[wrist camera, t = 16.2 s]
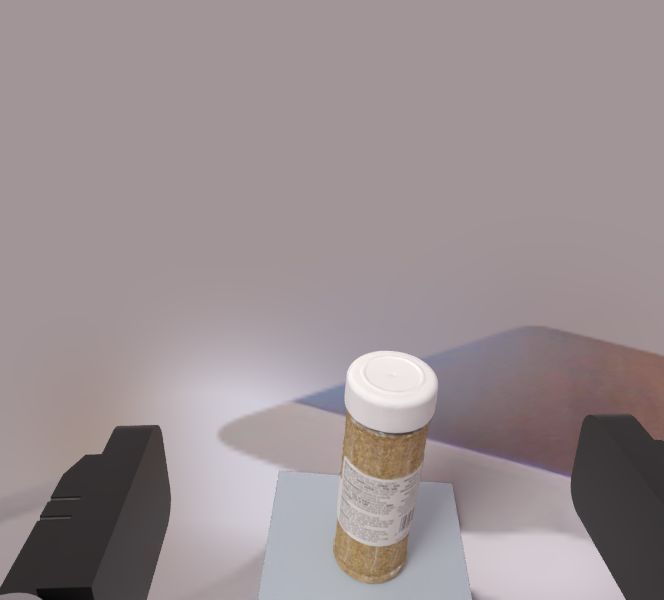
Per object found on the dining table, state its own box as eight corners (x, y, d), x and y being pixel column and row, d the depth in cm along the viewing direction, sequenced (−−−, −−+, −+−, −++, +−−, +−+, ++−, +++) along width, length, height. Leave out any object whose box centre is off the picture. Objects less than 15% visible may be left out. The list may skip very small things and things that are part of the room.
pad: (250, 648, 31) (250, 642, 31) (279, 476, 41) (279, 470, 41) (480, 666, 31) (482, 660, 30) (450, 489, 41) (452, 483, 41)
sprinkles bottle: (364, 510, 38) (385, 336, 32) (422, 553, 36) (458, 374, 29) (315, 553, 35) (327, 371, 29) (374, 604, 33) (402, 416, 26)
